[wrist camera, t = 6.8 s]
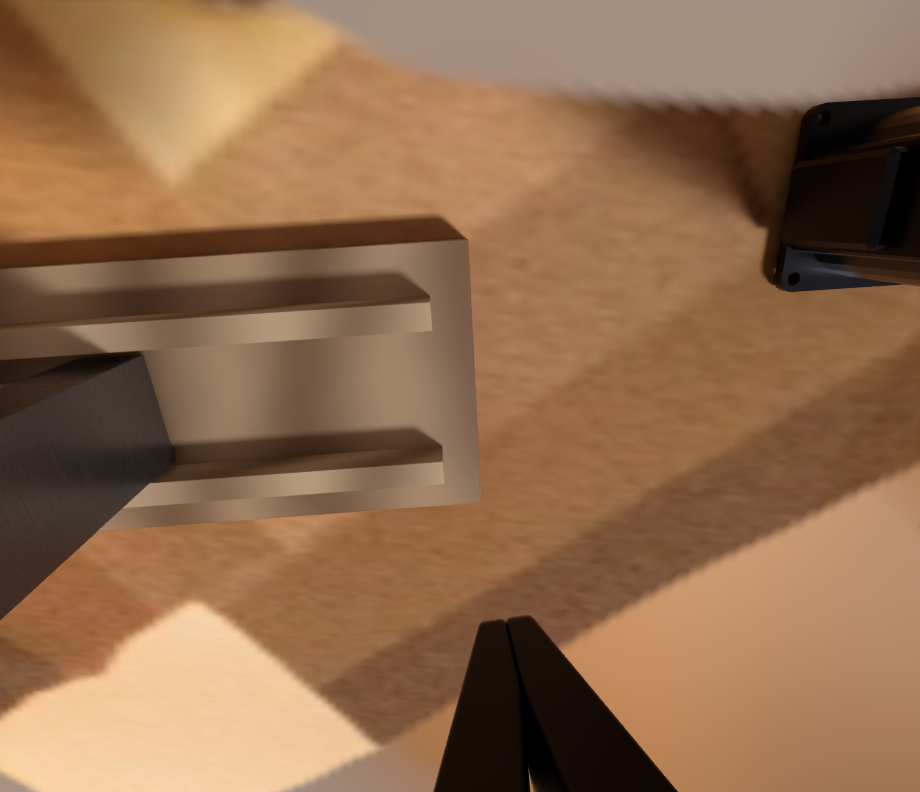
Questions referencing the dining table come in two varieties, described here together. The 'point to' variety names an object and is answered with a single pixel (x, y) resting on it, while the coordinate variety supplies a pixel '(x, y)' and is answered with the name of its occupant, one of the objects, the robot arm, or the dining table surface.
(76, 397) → the dark grey rectangular block
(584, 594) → the dining table surface
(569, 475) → the dining table surface
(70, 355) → the rail
